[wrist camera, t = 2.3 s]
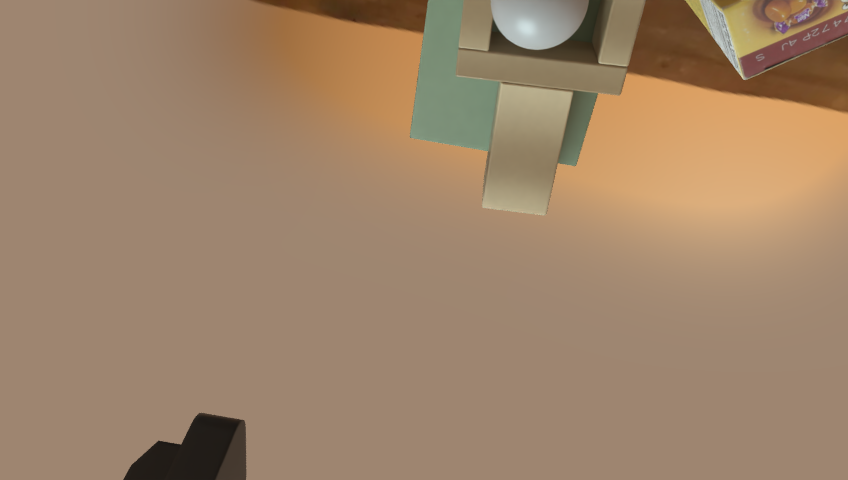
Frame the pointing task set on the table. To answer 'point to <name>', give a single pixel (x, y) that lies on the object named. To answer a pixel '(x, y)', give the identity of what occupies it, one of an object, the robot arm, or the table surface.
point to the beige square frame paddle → (539, 95)
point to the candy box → (771, 29)
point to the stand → (475, 98)
